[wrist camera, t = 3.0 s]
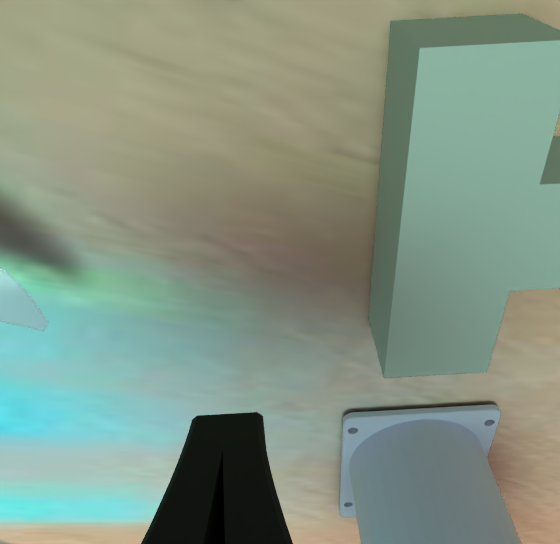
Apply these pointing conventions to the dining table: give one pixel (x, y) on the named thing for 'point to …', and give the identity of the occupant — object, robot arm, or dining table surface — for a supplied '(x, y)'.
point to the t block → (463, 187)
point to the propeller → (18, 305)
